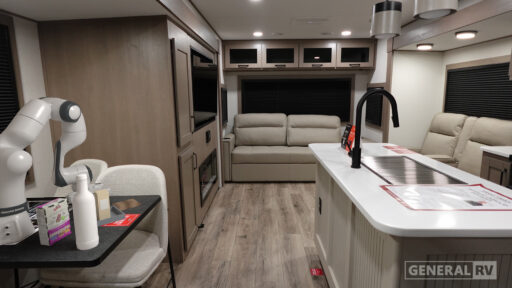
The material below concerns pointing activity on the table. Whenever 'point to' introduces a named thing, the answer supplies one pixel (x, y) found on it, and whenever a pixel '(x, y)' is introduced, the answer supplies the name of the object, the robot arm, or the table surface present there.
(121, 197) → the table surface
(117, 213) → the parts bin
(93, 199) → the bottle
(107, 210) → the parts box
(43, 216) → the candy bar box
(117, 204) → the walnut board
